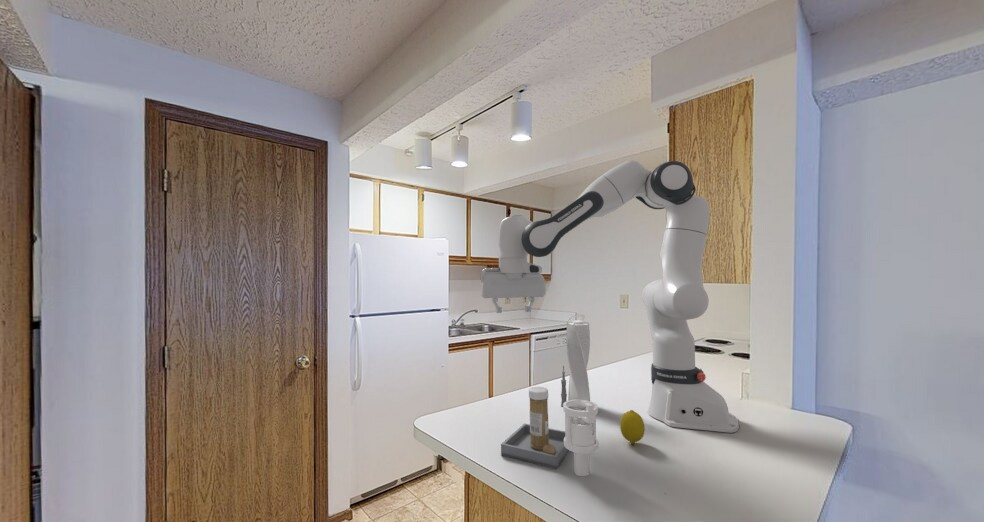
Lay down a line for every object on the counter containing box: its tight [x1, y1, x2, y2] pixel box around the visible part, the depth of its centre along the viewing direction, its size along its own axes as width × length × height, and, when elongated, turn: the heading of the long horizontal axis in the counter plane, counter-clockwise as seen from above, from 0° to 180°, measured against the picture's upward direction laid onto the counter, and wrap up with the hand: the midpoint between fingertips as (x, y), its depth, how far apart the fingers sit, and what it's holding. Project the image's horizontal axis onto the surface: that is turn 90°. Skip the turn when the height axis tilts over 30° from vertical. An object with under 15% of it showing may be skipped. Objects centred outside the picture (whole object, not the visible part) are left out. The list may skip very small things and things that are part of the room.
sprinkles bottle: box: [528, 386, 550, 450], centre depth 90 cm, size 5×5×13 cm
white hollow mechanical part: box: [562, 400, 600, 477], centre depth 79 cm, size 7×7×15 cm
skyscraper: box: [560, 314, 591, 411], centre depth 119 cm, size 8×8×28 cm
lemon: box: [619, 409, 645, 445], centre depth 92 cm, size 6×6×8 cm
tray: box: [500, 423, 571, 470], centre depth 90 cm, size 13×13×2 cm
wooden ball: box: [543, 444, 556, 455], centre depth 84 cm, size 3×3×3 cm
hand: (513, 312), depth 119 cm, fingers open, 8 cm apart
